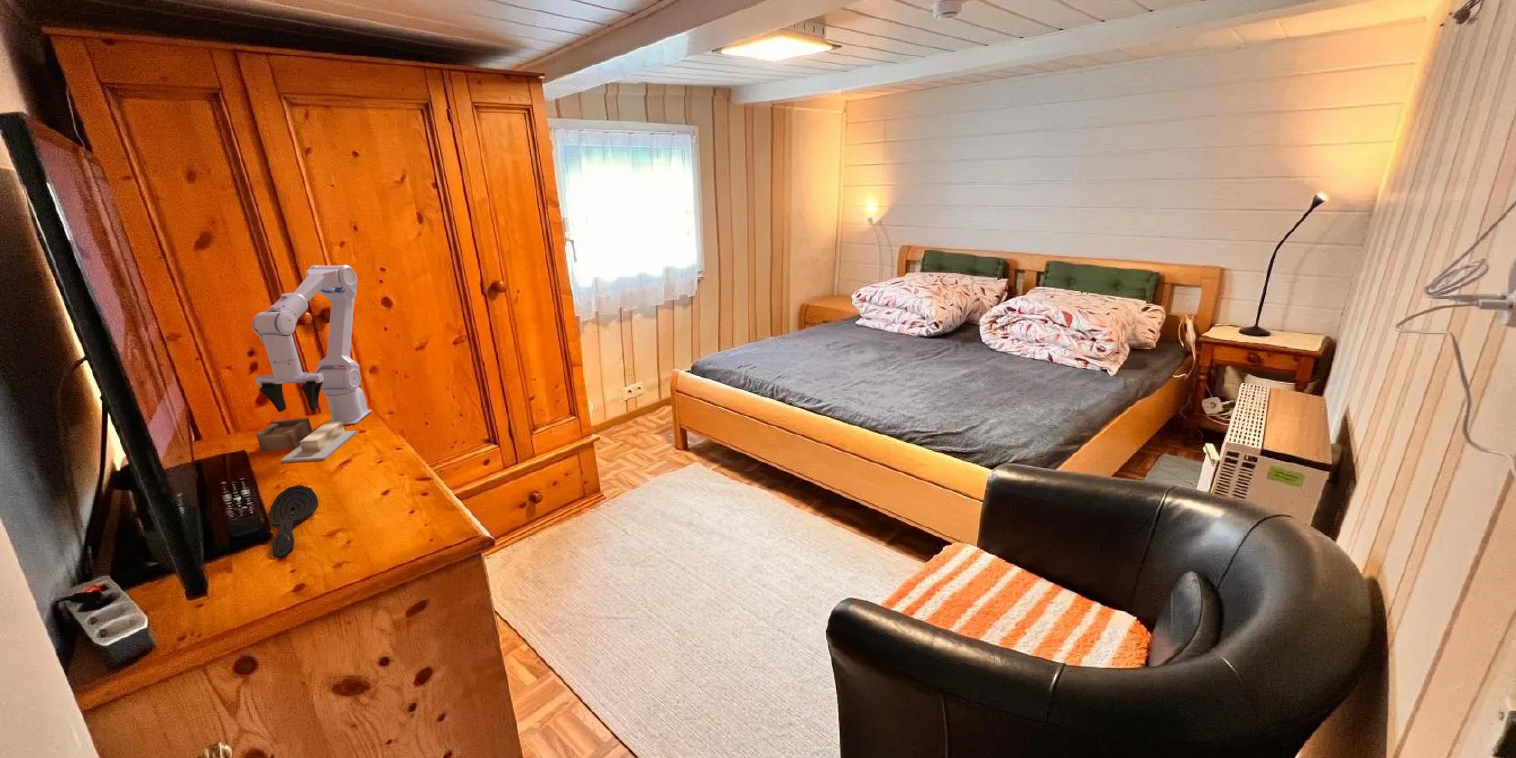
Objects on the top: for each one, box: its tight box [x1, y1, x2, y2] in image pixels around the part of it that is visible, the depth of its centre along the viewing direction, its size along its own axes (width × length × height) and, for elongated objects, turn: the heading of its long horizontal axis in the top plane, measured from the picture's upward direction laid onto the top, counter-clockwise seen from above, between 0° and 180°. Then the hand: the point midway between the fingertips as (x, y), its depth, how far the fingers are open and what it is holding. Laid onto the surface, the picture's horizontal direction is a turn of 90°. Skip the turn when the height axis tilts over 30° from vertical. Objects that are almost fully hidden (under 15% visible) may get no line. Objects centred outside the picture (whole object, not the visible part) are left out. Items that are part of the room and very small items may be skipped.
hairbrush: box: [267, 482, 319, 559], centre depth 118 cm, size 8×4×25 cm
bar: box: [300, 421, 345, 452], centre depth 153 cm, size 12×4×3 cm, turn 8°
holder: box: [255, 417, 314, 452], centre depth 153 cm, size 8×8×5 cm
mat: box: [280, 430, 358, 464], centre depth 152 cm, size 16×10×1 cm, turn 8°
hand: (298, 409), depth 150 cm, fingers open, 7 cm apart
